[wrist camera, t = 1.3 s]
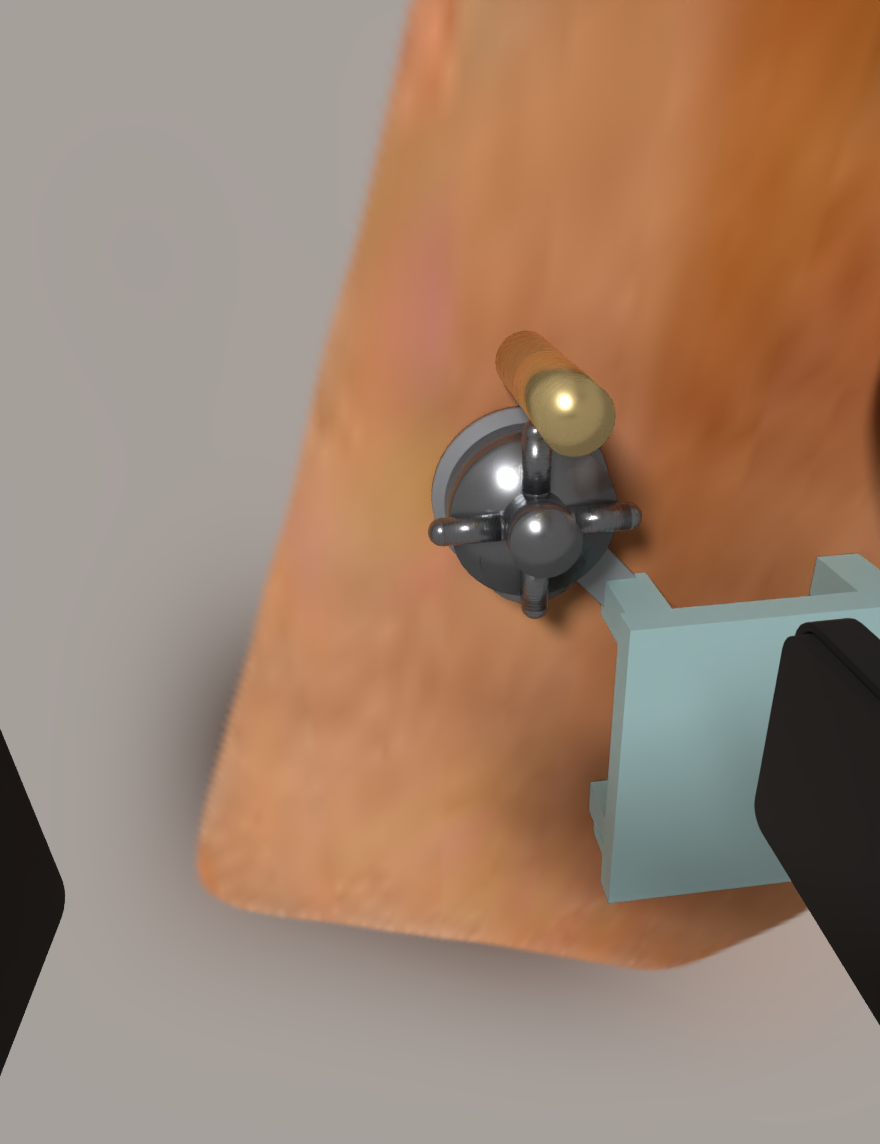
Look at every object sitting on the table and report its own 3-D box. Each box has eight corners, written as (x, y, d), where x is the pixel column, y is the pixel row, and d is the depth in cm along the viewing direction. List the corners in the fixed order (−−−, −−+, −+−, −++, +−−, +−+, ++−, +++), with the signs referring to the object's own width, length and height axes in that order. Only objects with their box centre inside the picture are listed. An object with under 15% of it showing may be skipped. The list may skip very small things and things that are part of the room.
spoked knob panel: (426, 412, 28) (440, 458, 24) (910, 377, 29) (1010, 413, 25) (450, 842, 38) (463, 930, 34) (810, 802, 39) (868, 882, 35)
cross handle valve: (412, 338, 26) (432, 392, 20) (633, 323, 26) (722, 372, 20) (428, 597, 31) (448, 709, 24) (616, 580, 31) (684, 685, 25)
